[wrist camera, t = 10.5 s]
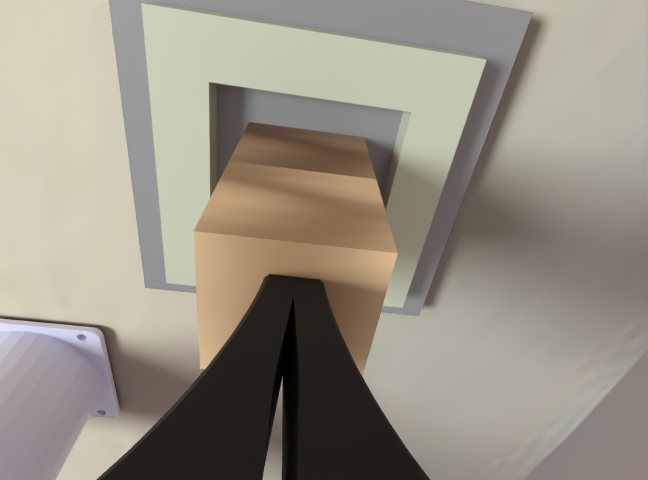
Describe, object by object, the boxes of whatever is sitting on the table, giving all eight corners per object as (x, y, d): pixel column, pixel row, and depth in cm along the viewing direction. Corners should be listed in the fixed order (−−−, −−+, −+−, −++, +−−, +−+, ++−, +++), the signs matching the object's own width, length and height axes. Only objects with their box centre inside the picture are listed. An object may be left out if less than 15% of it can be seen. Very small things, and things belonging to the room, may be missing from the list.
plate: (152, 275, 20) (135, 304, 19) (114, -60, 13) (80, -67, 11) (415, 303, 22) (424, 332, 20) (520, 11, 14) (550, 15, 12)
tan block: (245, 222, 18) (200, 368, 11) (249, 121, 15) (193, 231, 9) (345, 233, 18) (360, 381, 11) (363, 137, 16) (398, 253, 9)
